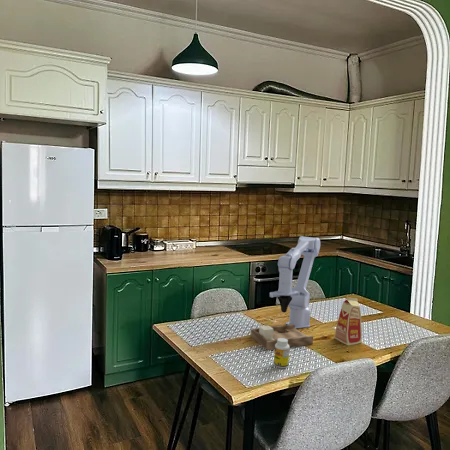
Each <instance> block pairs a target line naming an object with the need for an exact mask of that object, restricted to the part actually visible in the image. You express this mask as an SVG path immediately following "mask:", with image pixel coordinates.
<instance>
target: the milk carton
mask: <svg viewBox="0 0 450 450" xmlns="http://www.w3.org/2000/svg"><path fill="white" fill-rule="evenodd" d="M358 300H359V298H352V297H348V296H346V299H345V300H344V301H343V302H342V306H341V308H340V312H339V316H338V318H337V323H336V328H335V332H334V338H333V339H334V340H336V341H338V342H341V343H342V344H344V345H346V346H353V345H357V344H358V345H359V344H361V343H362V341H363V339H362V338H363V329H362V328H363V327H362V313H361V311H362V310H361V305H360V304H359V302H358Z"/></svg>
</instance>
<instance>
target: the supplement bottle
mask: <svg viewBox="0 0 450 450" xmlns="http://www.w3.org/2000/svg"><path fill="white" fill-rule="evenodd" d="M290 348H291V347H290V346H289V345H288V340H287V339H285V338H278V339H277V343H276V344H275V349H274V354H273V355H274V356H273V358H274V359H273V365H274V367H276V368H278V369H287V368H288V367H289V366H290V365H289V364H290V350H291V349H290Z"/></svg>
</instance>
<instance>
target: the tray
mask: <svg viewBox="0 0 450 450" xmlns="http://www.w3.org/2000/svg"><path fill="white" fill-rule="evenodd" d="M271 327H272V328H273V329H274V331H273V339H269V340H267V339H266V338H264V337H263V336H262V335H260V334H259V327H258V328H251V329H250V337H251V338H252V339H253V340H254V341H255V342H256V343H258V344H259V345H260V346H261V347H263V348H264V349H265V350H266V351H272V350H275V344H276V343H277V339H278V338H285V339H287V340H288V345H289V346H290V348H294V347H301V346H308V345H313V344H314V336H313V335H307V334H305V333H303V332H301V331H300V330H298V328H295V325H294V324H292V325H287V324H283V325H277V326H276V325H275V326H271Z"/></svg>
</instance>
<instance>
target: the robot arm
mask: <svg viewBox="0 0 450 450" xmlns="http://www.w3.org/2000/svg"><path fill="white" fill-rule="evenodd" d="M320 249H321V240H320V238H319V237H311V236H310V237H309V236H303V235H300V236H299V238H298V240H297V245H296V246H295V247H291V248H290V249H289V250H288V252H286V253H285V254H284V255H281V256H279V258H278V261H277V266H278V272H279V278H278V280H279V281H278V290H275V291H270V292H269V298H277V300H278V302H279V305H280V310H281V312H282V313H287V311H288V308H289V316H288V317H289V318H288V321H287V322H285V325H292V324H294V325H295V329H301V328H309V327H311V325H310V322H311V321H310V320H311V310H310V308H309V305H310V297H311V294H310V292H309V291H308V290H307V286H308V283H309V278H310V275H311V272H312V268H313V264H314V260H315V258H316V257H318V256H319V253H320ZM301 256H303V260H302V263H301V267H300V271H299V274H298V277H297V281H296V285H295V286H293V284H292V283H293V273H294V272H293V270H294V269H295V267H296V264H297V261H298V260H299V259H300V258H301Z"/></svg>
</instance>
